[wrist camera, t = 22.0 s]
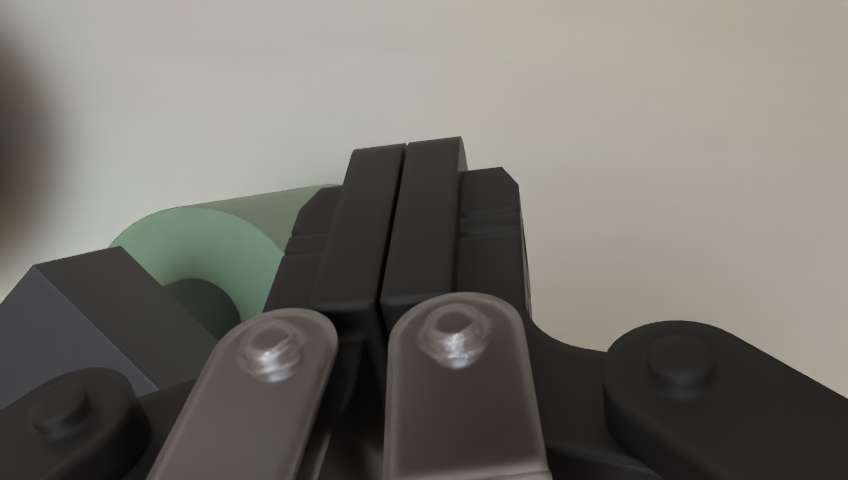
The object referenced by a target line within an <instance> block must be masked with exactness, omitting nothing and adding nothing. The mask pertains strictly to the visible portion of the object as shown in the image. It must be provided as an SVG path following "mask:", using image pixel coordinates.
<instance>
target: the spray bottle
mask: <svg viewBox="0 0 848 480" xmlns="http://www.w3.org/2000/svg"><path fill="white" fill-rule="evenodd" d="M334 186H341V185H318V186H311V187H305V188H298V189H292V190H285V191H279V192H272V193H266V194H259V195H253V196H246V197H240V198H234V199H227V200H221V201H214V202H208V203H201V204H195V205H188V206H182V207H175V208H171V209H166V210H162V211H159V212H156V213H154V214H151V215H148V216H146V217H144V218H142V219H141V220H139V221H137V222H135V223H134V224H132V225H131V226H130V227H128V228H127V229H126V230H124V231H123V232H122V233H121V234H120V235H119V236H118V237H117V238H116V239H115V240H114V241H113V242H112V243H111V244H110V246H109V247H108V248H107V249H102V250H98V251H93V252H89V253H85V254H80V255H76V256H71V257H67V258H62V259H58V260H53V261H49V262H44V263H40V264H36V265H33V266H32V267H31V268H30V269H29V271H28V272H27V273H26V274H25V275H24V277H23V278H22V279H21V280H20V281H19V283H18V284H17V285H16V286H15V287H14V289H13V290H12V291H11V292H10V293H9V295H8V296H7V297H6V298H5V299H4V301H3V302H2V303H1V304H0V411H1V410H3V409H4V408H6V407H7V406H9V405H10V404H12V403H13V402H15V401H16V400H18V399H19V398H21V397H22V396H24V395H25V394H27V393H28V392H30V391H32V390H33V389H35V388H36V387H38V386H40V385H41V384H43V383H45V382H47V381H49V380H51V379H53V378H55V377H57V376H60V375H62V374H65V373H67V372H71V371H75V370H78V369H84V368H90V367H104V368H111V369H114V370H117V371H119V372H121V373H123V374H124V375H125V376H126V377H127V378H128V380H129V382H130V384H131V386H132V388H133V389H134V391H135V393H136V395H137V397H140V396H143V395H146V394H149V393H152V392H156V391H159V390H162V389H165V388H168V387H171V386H175V385H178V384H181V383H184V382H187V381H190V380H193V379H195V378H198V377H199V375H200V373H201V372H202V370H203V368H204V366H205V364H206V362H207V360H208V358H209V356H210V354H211V352H212V351H213V349H214V348H215V346H216V344H217V343H218V342H219V341H220V340H221V339H222V338H223V337H224V336H225V335H226V334H227V333H228V332H229V331H230V330H232V329H233V328H235V327H236V326H237V325H239V324H241V323H242V322H244V321H246V320H248V319H250V318H252V317H255V316H257V315H259V314H262V311H263V308H264V306H265V303H266V300H267V297H268V295H269V292H270V289H271V287H272V284H273V281H274V278H275V276H276V273H277V270H278V267H279V265H280V262H281V259H282V256H285V252H284V251H285V248H286V245H287V243H288V240H289V237H292V234H291V232H292V229H293V226H294V223H295V221H296V218H297V215H298V212H299V210H300V209H301V208H302V207H303V206H304V205H305V204H306V203H307V202H308V201H309V200H310V199H311V198H312V197H313V196H314V195H315V194H316V193H317V192H318V191H319V190H320V189H321V188H325V187H334Z"/></svg>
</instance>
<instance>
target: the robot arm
mask: <svg viewBox="0 0 848 480" xmlns="http://www.w3.org/2000/svg"><path fill="white" fill-rule="evenodd" d="M291 234H292V237H289V240H288V243H287V245H286V248H285V251H284V252H285V256H282V259H281V262H280V265H279V267H278V270H277V273H276V276H275V278H274V281H273V284H272V287H271V289H270V292H269V295H268V297H267V300H266V303H265V306H264V308H263V311H262V314H259V315H257V316H255V317H252V318H250V319H248V320H246V321H244V322H242V323H241V324H239V325H237V326H236V327H235V328H233V329H232V330H230V331H229V332H228V333H227V334H226V335H225V336H224V337H223V338H222V339H221V340H220V341H219V342H218V343H217V344H216V346H215V348H214V349H213V351H212V352H211V354H210V356H209V358H208V360H207V362H206V364H205V366H204V368H203V370H202V372H201V373H200V375H199V377H198V378H195V379H193V380H190V381H187V382H184V383H181V384H178V385H175V386H171V387H168V388H165V389H162V390H159V391H156V392H152V393H149V394H146V395H143V396H140V397H137V395H136V393H135V391H134V389H133V388H132V386H131V384H130V382H129V380H128V378H127V377H126V376H125V375H124V374H123V373H121V372H119V371H117V370H114V369H111V368H104V367H90V368H84V369H78V370H75V371H71V372H67V373H65V374H62V375H60V376H57V377H55V378H53V379H51V380H49V381H47V382H45V383H43V384H41V385H40V386H38V387H36V388H35V389H33V390H32V391H30V392H28V393H27V394H25V395H24V396H22V397H21V398H19V399H18V400H16V401H15V402H13V403H12V404H10V405H9V406H7V407H6V408H4V409H3V410H1V411H0V480H848V399H847V398H845V397H843V396H842V395H840V394H838V393H836V392H835V391H833V390H831V389H829V388H827V387H826V386H824V385H822V384H820V383H818V382H817V381H815V380H813V379H811V378H810V377H808V376H806V375H804V374H802V373H801V372H799V371H797V370H795V369H793V368H792V367H790V366H788V365H786V364H784V363H783V362H781V361H779V360H777V359H776V358H774V357H772V356H770V355H768V354H767V353H765V352H763V351H761V350H759V349H758V348H756V347H754V346H752V345H750V344H749V343H747V342H745V341H743V340H742V339H740V338H738V337H736V336H734V335H733V334H731V333H729V332H726V331H724V330H722V329H720V328H717V327H714V326H711V325H708V324H703V323H698V322H692V321H682V320H680V321H661V322H655V323H650V324H646V325H643V326H640V327H638V328H635V329H633V330H631V331H629V332H627V333H626V334H624V335H622V336H621V337H620V338H619V339H617V340H616V341H615V342H614V343H613V344H612V346H611V347H610V348H609V349H608V351H607V352H602V351H596V350H590V349H584V348H579V347H575V346H571V345H568V344H565V343H562V342H560V341H558V340H556V339H554V338H552V337H550V336H549V335H547V334H546V333H544V332H543V331H542V330H541V329H539V328H538V327H537V326H536V325H535V323H534V322H533V321H532V308H531V294H530V279H529V269H528V261H527V252H526V244H525V236H524V227H523V219H522V211H521V203H520V194H519V186H518V184H517V183H516V182H515V181H514V180H513V179H512V177H511V176H510V175H509V174H508V173H507V172H506V171H505V170H504V169H503V168H502V167H497V168H488V169H480V170H471V171H468V168H467V162H466V155H465V150H464V145H463V141H462V138H461V136H459V137H451V138H443V139H435V140H427V141H418V142H410V143H409V144H408V146H407V144H406V143H403V144H395V145H387V146H379V147H371V148H362V149H355V150H354V151H353V152H352V155H351V159H350V162H349V165H348V169H347V172H346V176H345V179H344V182H343V186H334V187H325V188H321V189H320V190H319V191H318V192H317V193H316V194H315V195H314V196H313V197H312V198H311V199H310V200H309V201H308V202H307V203H306V204H305V205H304V206H303V207H302V208H301V209H300V210H299V212H298V215H297V218H296V221H295V223H294V226H293V229H292V232H291Z"/></svg>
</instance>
